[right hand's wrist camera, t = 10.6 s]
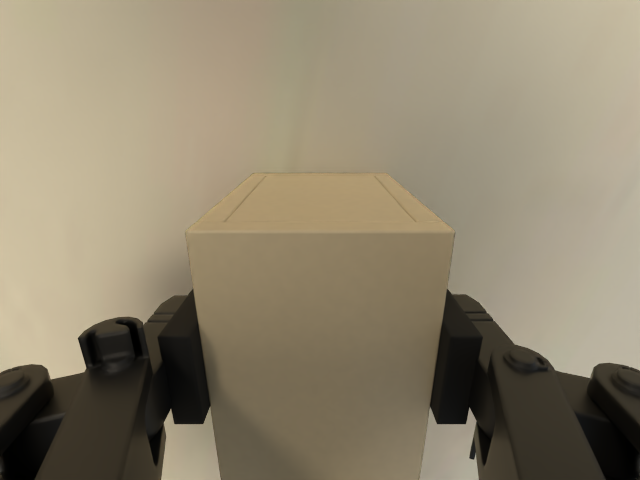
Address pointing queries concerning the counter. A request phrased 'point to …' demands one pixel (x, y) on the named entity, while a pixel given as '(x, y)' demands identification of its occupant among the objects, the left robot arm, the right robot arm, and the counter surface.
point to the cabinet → (320, 325)
